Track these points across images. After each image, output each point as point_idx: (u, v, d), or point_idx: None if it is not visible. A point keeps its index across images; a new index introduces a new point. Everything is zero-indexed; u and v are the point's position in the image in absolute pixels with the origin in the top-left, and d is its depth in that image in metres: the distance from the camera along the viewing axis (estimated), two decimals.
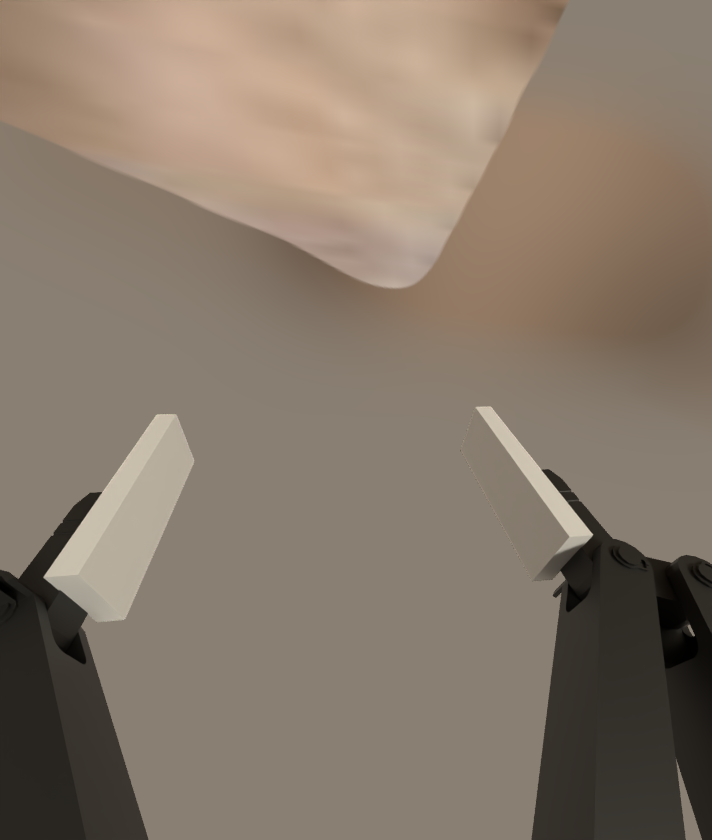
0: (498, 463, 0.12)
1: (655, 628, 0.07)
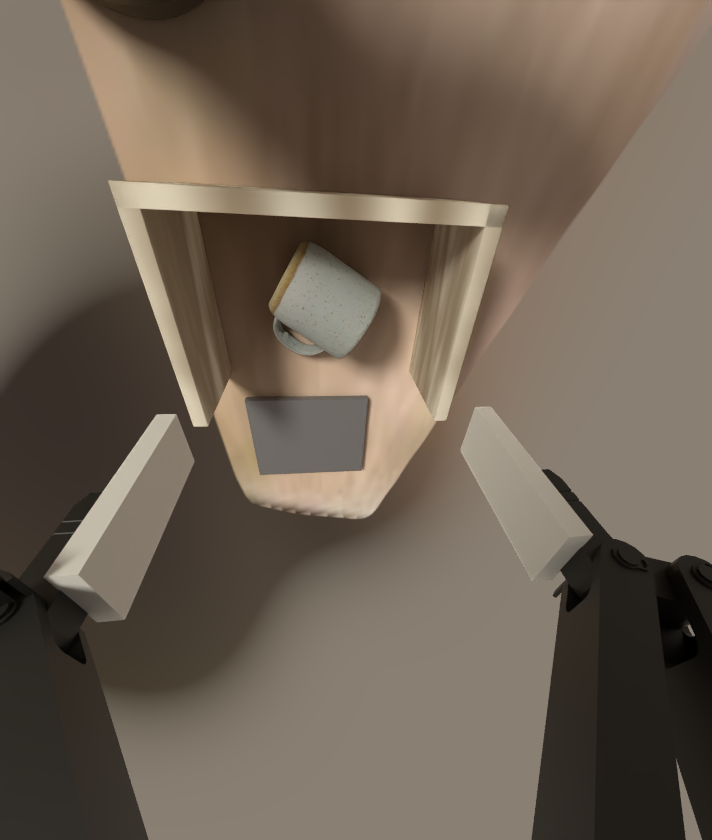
0: (498, 463, 0.12)
1: (655, 627, 0.07)
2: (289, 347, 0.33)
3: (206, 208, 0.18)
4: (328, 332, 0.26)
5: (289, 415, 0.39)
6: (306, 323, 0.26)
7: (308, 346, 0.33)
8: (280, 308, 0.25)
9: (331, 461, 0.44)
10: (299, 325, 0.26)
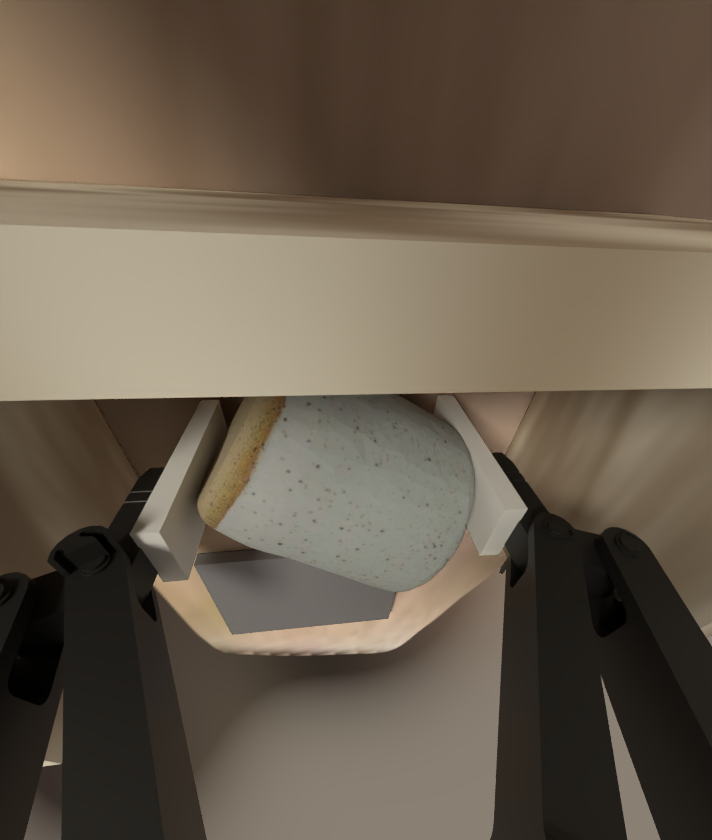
0: None
1: (582, 590, 0.08)
2: None
3: None
4: (346, 573, 0.10)
5: (274, 575, 0.23)
6: (290, 558, 0.10)
7: None
8: (220, 531, 0.09)
9: (343, 614, 0.28)
10: (273, 553, 0.10)
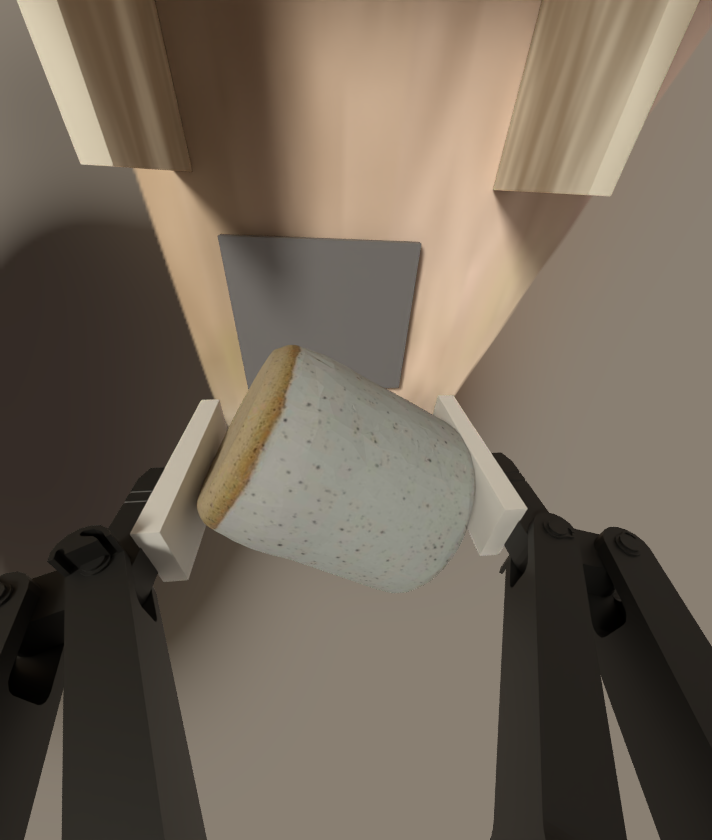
0: None
1: (583, 590, 0.08)
2: None
3: None
4: (347, 574, 0.10)
5: (292, 272, 0.24)
6: (290, 558, 0.10)
7: None
8: (220, 532, 0.09)
9: (355, 369, 0.29)
10: (273, 553, 0.10)
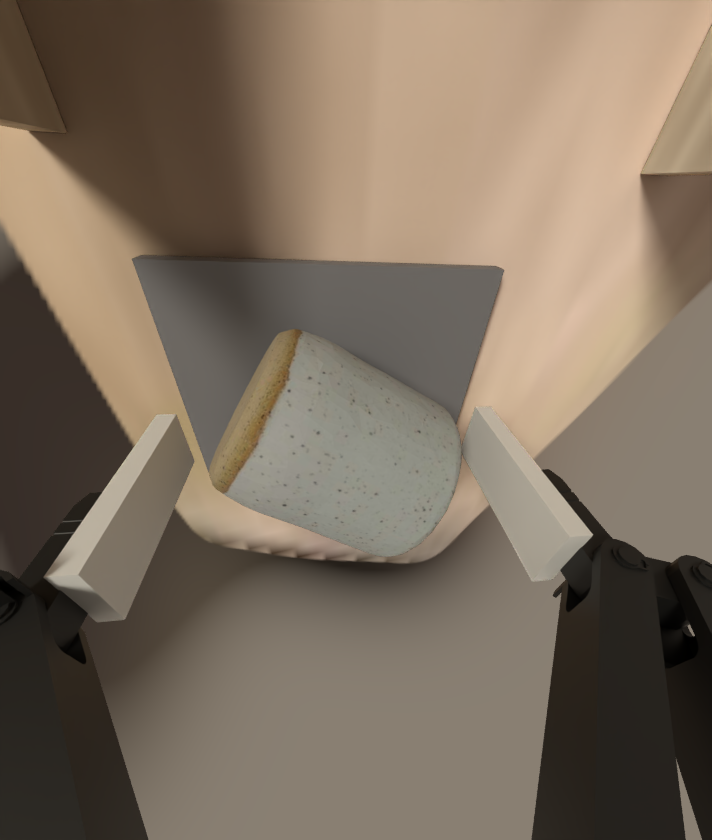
0: (498, 463, 0.12)
1: (655, 628, 0.07)
2: None
3: None
4: (345, 536, 0.11)
5: (276, 320, 0.13)
6: (294, 521, 0.11)
7: None
8: (230, 496, 0.10)
9: None
10: (278, 518, 0.11)
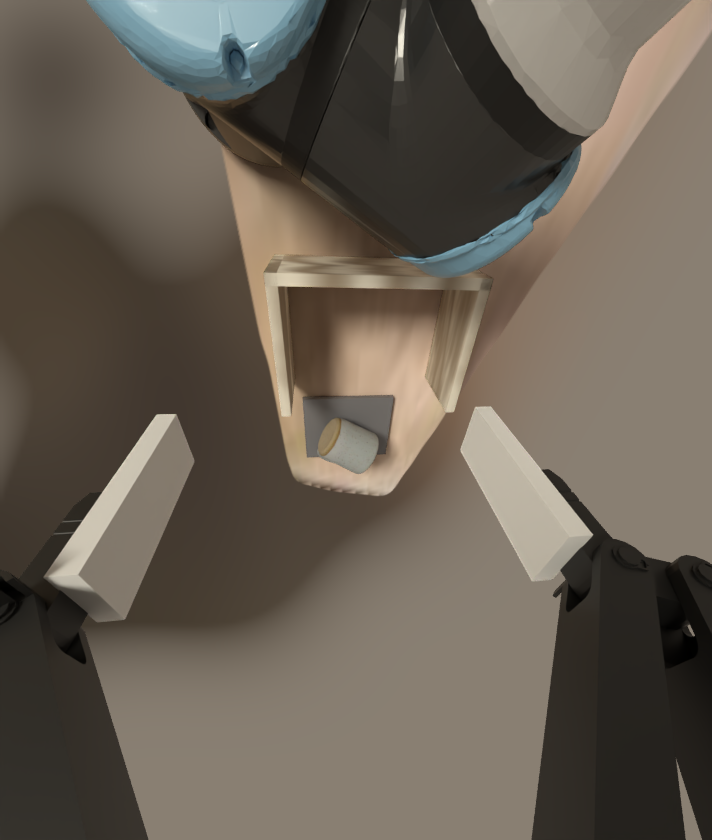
0: (498, 463, 0.12)
1: (654, 627, 0.07)
2: (325, 459, 0.56)
3: (315, 285, 0.30)
4: (350, 466, 0.49)
5: (334, 410, 0.51)
6: (339, 462, 0.49)
7: None
8: (326, 456, 0.48)
9: None
10: (335, 462, 0.49)
